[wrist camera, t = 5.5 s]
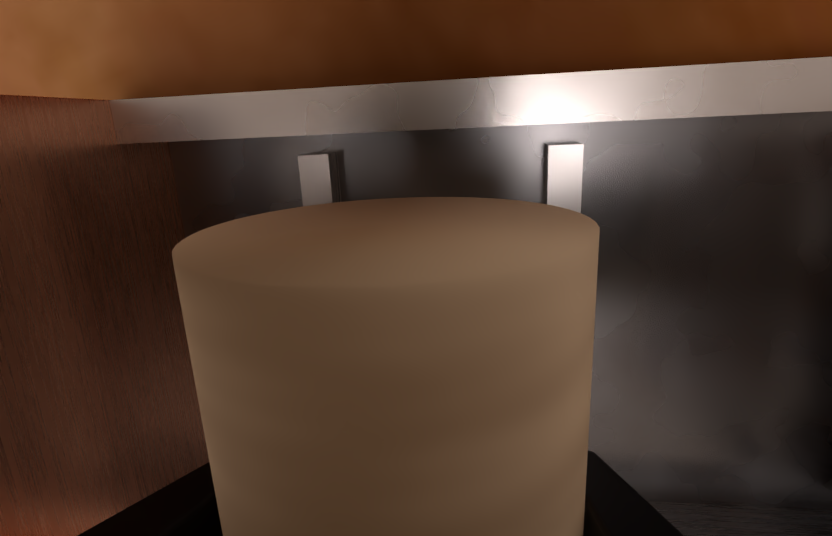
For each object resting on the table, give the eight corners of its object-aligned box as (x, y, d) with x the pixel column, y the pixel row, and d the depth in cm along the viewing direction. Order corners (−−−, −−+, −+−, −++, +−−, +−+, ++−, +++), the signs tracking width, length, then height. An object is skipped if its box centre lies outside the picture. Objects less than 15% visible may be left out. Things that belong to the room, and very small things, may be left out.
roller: (566, 193, 8) (664, 287, 4) (551, 615, 11) (598, 1002, 6) (280, 200, 9) (49, 286, 4) (326, 593, 12) (210, 922, 7)
